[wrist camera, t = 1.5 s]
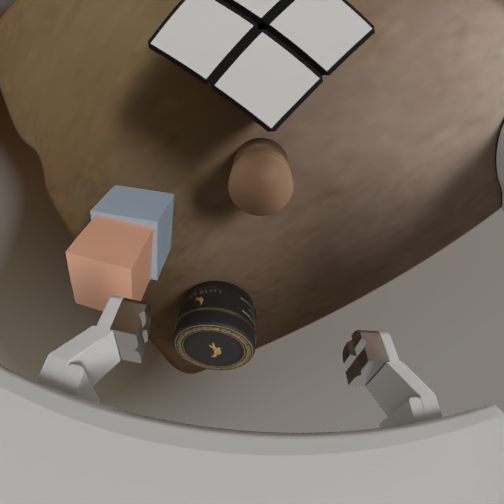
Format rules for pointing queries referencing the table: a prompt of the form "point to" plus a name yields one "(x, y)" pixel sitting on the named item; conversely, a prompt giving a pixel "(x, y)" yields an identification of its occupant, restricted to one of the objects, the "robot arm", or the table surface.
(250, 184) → the walnut cylinder
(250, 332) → the jar
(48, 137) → the table surface
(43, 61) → the table surface
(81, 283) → the top block
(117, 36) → the table surface
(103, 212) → the base block
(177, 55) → the puzzle cube
